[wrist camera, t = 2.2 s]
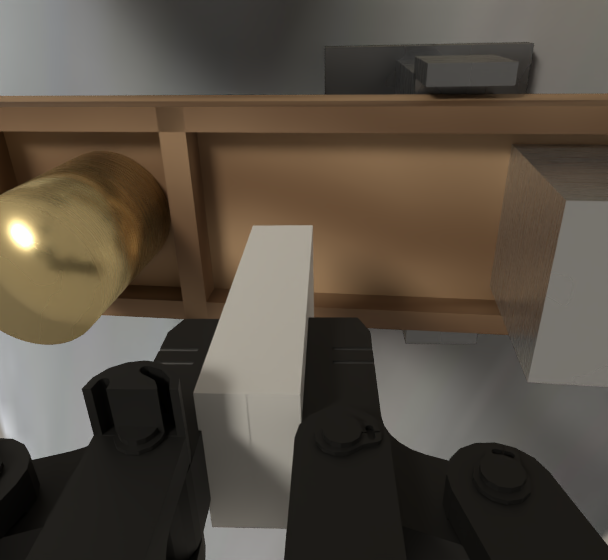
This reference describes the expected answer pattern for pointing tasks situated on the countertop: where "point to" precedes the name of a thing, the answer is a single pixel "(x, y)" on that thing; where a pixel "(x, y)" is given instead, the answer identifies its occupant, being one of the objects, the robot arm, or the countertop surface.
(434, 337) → the fulcrum
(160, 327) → the countertop surface
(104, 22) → the countertop surface
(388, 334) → the countertop surface
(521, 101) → the wooden tray
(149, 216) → the cylinder
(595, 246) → the block
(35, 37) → the countertop surface
